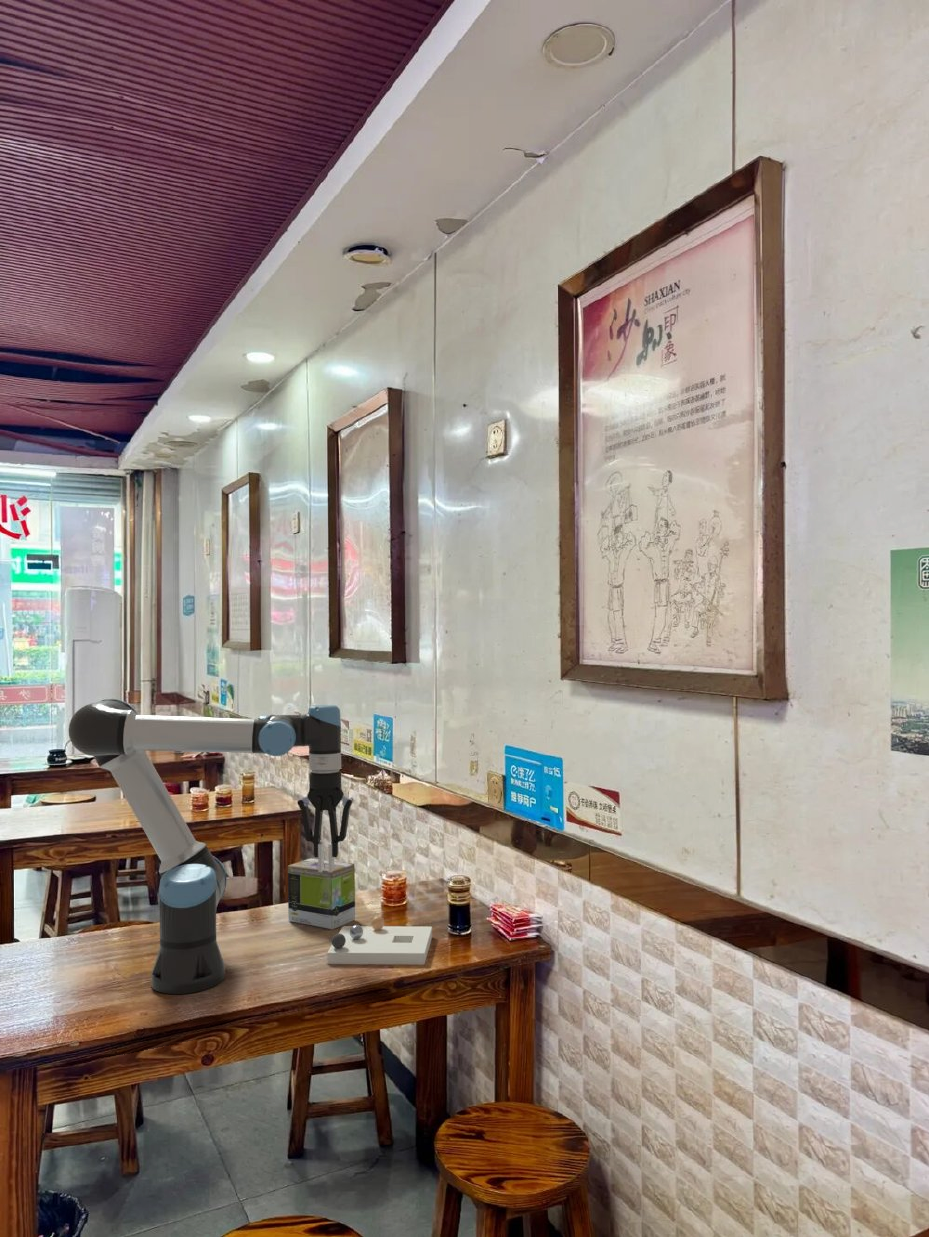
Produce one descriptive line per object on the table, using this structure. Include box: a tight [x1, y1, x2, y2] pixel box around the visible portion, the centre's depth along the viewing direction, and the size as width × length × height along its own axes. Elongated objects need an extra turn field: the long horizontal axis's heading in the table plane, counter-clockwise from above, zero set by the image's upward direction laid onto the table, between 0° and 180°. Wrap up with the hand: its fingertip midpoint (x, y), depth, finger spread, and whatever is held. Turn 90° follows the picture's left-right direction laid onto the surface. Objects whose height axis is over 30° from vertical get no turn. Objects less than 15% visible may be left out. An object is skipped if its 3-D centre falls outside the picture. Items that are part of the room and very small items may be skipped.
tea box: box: [287, 857, 356, 930], centre depth 224 cm, size 15×10×15 cm
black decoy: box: [331, 933, 346, 948], centre depth 197 cm, size 3×3×3 cm
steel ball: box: [350, 924, 363, 939], centre depth 203 cm, size 3×3×3 cm
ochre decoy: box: [370, 915, 385, 930], centre depth 209 cm, size 3×3×3 cm
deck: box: [326, 925, 433, 966], centre depth 202 cm, size 22×18×2 cm
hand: (326, 870), depth 203 cm, fingers open, 2 cm apart
